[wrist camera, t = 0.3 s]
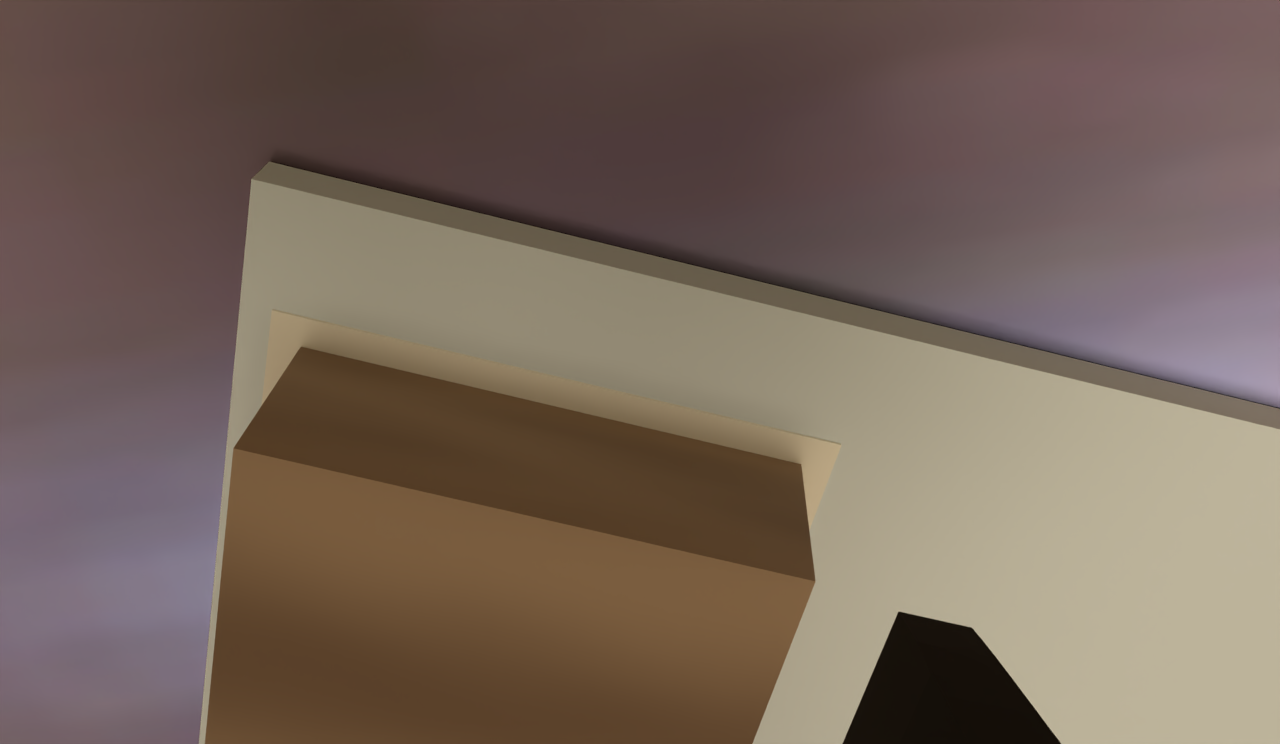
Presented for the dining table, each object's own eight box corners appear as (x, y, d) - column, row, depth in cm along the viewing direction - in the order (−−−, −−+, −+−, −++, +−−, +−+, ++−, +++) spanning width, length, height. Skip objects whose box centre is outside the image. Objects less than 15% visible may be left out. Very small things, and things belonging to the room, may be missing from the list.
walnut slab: (675, 811, 23) (671, 952, 20) (255, 721, 22) (194, 854, 20) (801, 464, 19) (816, 581, 17) (301, 346, 19) (232, 447, 16)
